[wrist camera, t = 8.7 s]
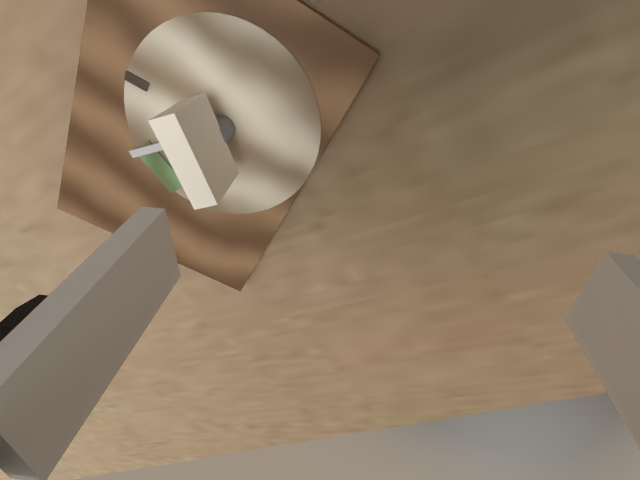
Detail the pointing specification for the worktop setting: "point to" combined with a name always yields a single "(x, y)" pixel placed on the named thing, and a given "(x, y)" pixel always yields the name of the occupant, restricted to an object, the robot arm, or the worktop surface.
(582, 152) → the worktop surface
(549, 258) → the worktop surface
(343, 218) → the worktop surface
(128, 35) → the tuner board
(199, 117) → the beige block with bar
